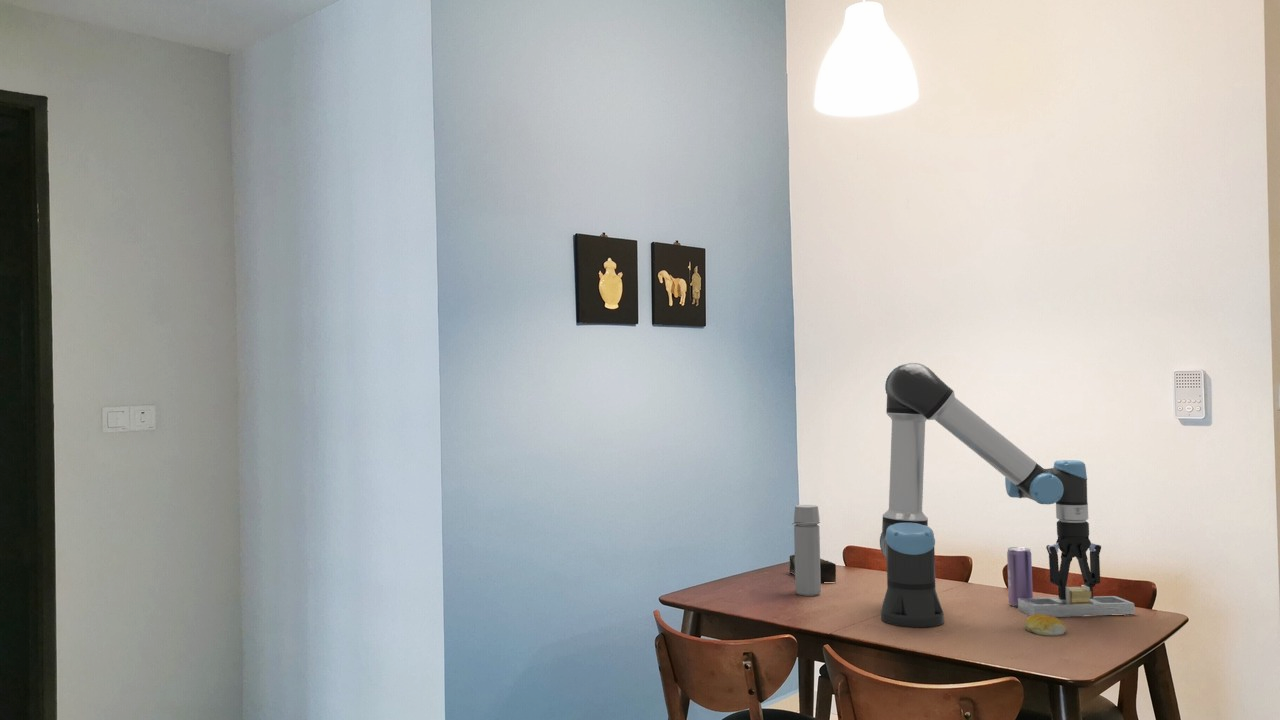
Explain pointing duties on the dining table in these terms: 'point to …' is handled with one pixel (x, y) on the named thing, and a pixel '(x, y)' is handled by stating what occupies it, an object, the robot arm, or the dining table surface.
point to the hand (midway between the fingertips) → (1076, 611)
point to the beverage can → (1019, 574)
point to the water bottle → (807, 550)
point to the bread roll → (1045, 625)
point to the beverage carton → (825, 569)
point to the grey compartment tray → (1075, 606)
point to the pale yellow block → (1079, 595)
